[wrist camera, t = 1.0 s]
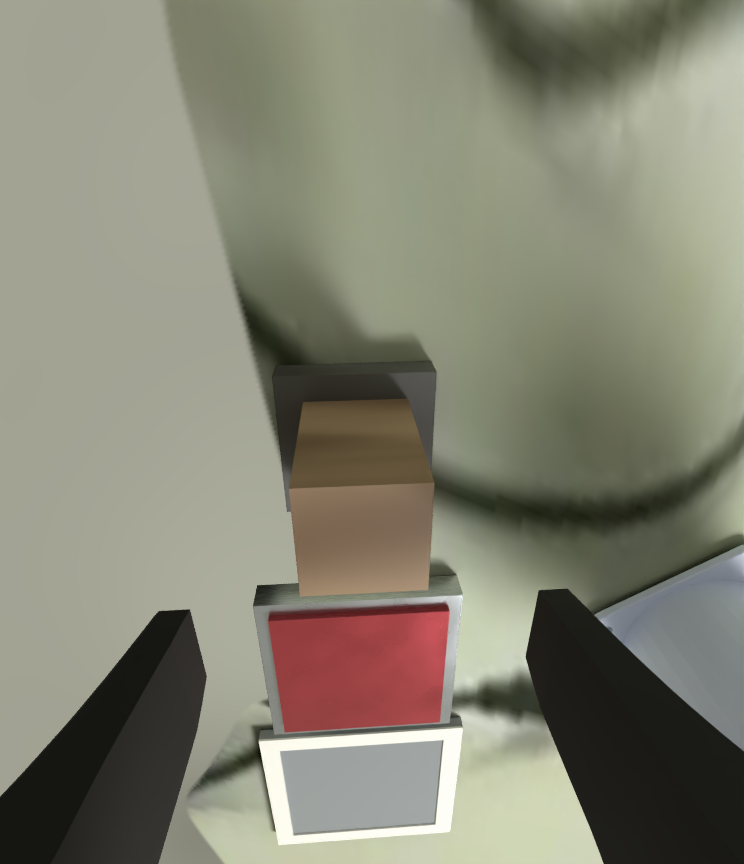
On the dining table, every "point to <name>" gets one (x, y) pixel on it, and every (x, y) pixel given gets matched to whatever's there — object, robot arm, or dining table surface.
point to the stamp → (358, 473)
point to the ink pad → (359, 656)
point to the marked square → (362, 781)
